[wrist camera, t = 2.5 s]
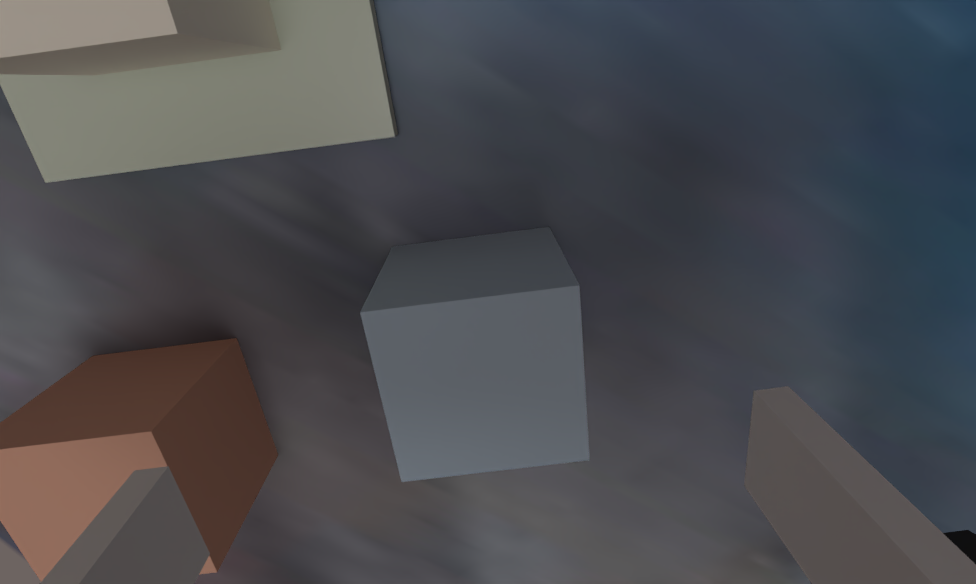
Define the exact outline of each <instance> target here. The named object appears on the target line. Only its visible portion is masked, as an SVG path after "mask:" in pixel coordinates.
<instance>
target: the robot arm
mask: <svg viewBox="0 0 976 584" xmlns="http://www.w3.org/2000/svg"><path fill="white" fill-rule="evenodd" d="M744 486H745V487H746V489H747V490H748V492H749V493H750V495H751V496H752V498H753V499H754V501H755V502H756V503H757V505H758V506H759V508H760V509H761V511H762V512H763V514H764V515H765V517H766V518H767V519H768V521H769V522H770V524H771V525H772V527H773V528H774V530H775V531H776V533H777V534H778V535H779V537H780V538H781V540H782V541H783V543H784V544H785V546H786V547H787V549H788V550H789V551H790V553H791V554H792V556H793V557H794V559H795V560H796V562H797V563H798V565H799V566H800V567H801V569H802V570H803V572H804V573H805V575H806V576H807V578H808V579H809V580H810V582H811V583H812V584H976V534H974V533H972V532H971V531H969V530H964V531H956V532H948V533H942V532H941V531H940V530H939V529H938V528H937V527H936V526H935V525H934V524H933V523H932V522H931V521H929V520H928V519H927V518H926V517H925V516H924V515H923V514H922V513H921V512H920V511H919V510H918V509H917V508H916V507H915V506H914V505H913V504H912V503H911V502H909V501H908V500H907V499H906V498H905V497H904V496H903V495H902V494H901V493H900V492H899V491H898V490H897V489H896V488H895V487H894V486H893V485H892V484H891V483H889V482H888V481H887V480H886V479H885V478H884V477H883V476H882V475H881V474H880V473H879V472H878V471H877V470H876V469H875V468H874V467H873V466H872V465H871V464H869V463H868V462H867V461H866V460H865V459H864V458H863V457H862V456H861V455H860V454H859V453H858V452H857V451H856V450H855V449H854V448H853V447H852V446H851V445H849V444H848V443H847V442H846V441H845V440H844V439H843V438H842V437H841V436H840V435H839V434H838V433H837V432H836V431H835V430H834V429H833V428H832V427H831V426H829V425H828V424H827V423H826V422H825V421H824V420H823V419H822V418H821V417H820V416H819V415H818V414H817V413H816V412H815V411H814V410H813V409H812V408H811V407H809V406H808V405H807V404H806V403H805V402H804V401H803V400H802V399H801V398H800V397H799V396H798V395H797V394H796V393H795V392H794V391H793V390H792V389H791V388H789V387H788V386H787V387H779V388H771V389H764V390H756V391H754V394H753V404H752V414H751V424H750V433H749V443H748V453H747V463H746V473H745V483H744ZM209 555H210V553H209V550H208V548H207V546H206V544H205V542H204V540H203V538H202V536H201V534H200V532H199V529H198V527H197V525H196V523H195V521H194V519H193V517H192V515H191V513H190V511H189V508H188V506H187V504H186V502H185V500H184V498H183V496H182V494H181V492H180V490H179V487H178V485H177V483H176V481H175V479H174V477H173V475H172V473H171V471H170V468H169V466H166V467H158V468H151V469H143V470H135V471H134V472H133V473H132V474H131V475H130V477H129V478H128V479H127V480H126V481H125V483H124V484H123V485H122V486H121V487H120V489H119V490H118V491H117V492H116V493H115V494H114V496H113V497H112V498H111V499H110V500H109V502H108V503H107V504H106V505H105V506H104V508H103V509H102V510H101V511H100V512H99V514H98V515H97V516H96V517H95V518H94V520H93V521H92V522H91V523H90V524H89V525H88V527H87V528H86V529H85V530H84V531H83V533H82V534H81V535H80V536H79V537H78V539H77V540H76V541H75V542H74V543H73V545H72V546H71V547H70V548H69V549H68V551H67V552H66V553H65V554H64V555H63V557H62V558H61V559H60V560H59V561H58V562H57V564H56V565H55V566H54V567H53V568H52V570H51V571H50V572H49V573H48V574H47V576H46V577H45V578H44V579H43V580H42V582H41V583H40V584H194V583H195V581H196V579H197V577H198V576H199V574H200V572H201V570H202V568H203V566H204V564H205V562H206V561H207V559H208V557H209Z"/></svg>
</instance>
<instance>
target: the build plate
mask: <svg viewBox="0 0 976 584" xmlns="http://www.w3.org/2000/svg"><path fill="white" fill-rule="evenodd" d="M269 3H270V7H271V11H272V15H273V19H274V23H275V27H276V31H277V35H278V39H279V43H280V47H281V50H278V51H271V52H263V53H256V54H249V55H241V56H234V57H227V58H219V59H212V60H205V61H197V62H190V63H183V64H175V65H168V66H161V67H153V68H146V69H139V70H131V71H124V72H117V73H109V74H102V75H95V76H91V75H17V74H0V85H1V87H2V89H3V92H4V94H5V96H6V98H7V100H8V103H9V105H10V107H11V109H12V111H13V113H14V116H15V118H16V120H17V122H18V124H19V126H20V129H21V131H22V133H23V135H24V137H25V139H26V142H27V144H28V146H29V148H30V150H31V152H32V155H33V157H34V159H35V161H36V163H37V165H38V168H39V170H40V172H41V174H42V176H43V179H44V181H45V183H47V182H55V181H62V180H70V179H78V178H85V177H93V176H100V175H108V174H116V173H123V172H131V171H138V170H146V169H154V168H161V167H169V166H176V165H184V164H192V163H199V162H207V161H214V160H222V159H230V158H237V157H245V156H252V155H260V154H268V153H275V152H283V151H290V150H298V149H306V148H313V147H321V146H328V145H336V144H344V143H351V142H359V141H366V140H374V139H382V138H389V137H395V136H397V135H398V131H397V126H396V120H395V115H394V109H393V104H392V99H391V93H390V88H389V82H388V77H387V71H386V66H385V61H384V55H383V50H382V44H381V39H380V33H379V28H378V23H377V17H376V12H375V6H374V1H373V0H269Z"/></svg>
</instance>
